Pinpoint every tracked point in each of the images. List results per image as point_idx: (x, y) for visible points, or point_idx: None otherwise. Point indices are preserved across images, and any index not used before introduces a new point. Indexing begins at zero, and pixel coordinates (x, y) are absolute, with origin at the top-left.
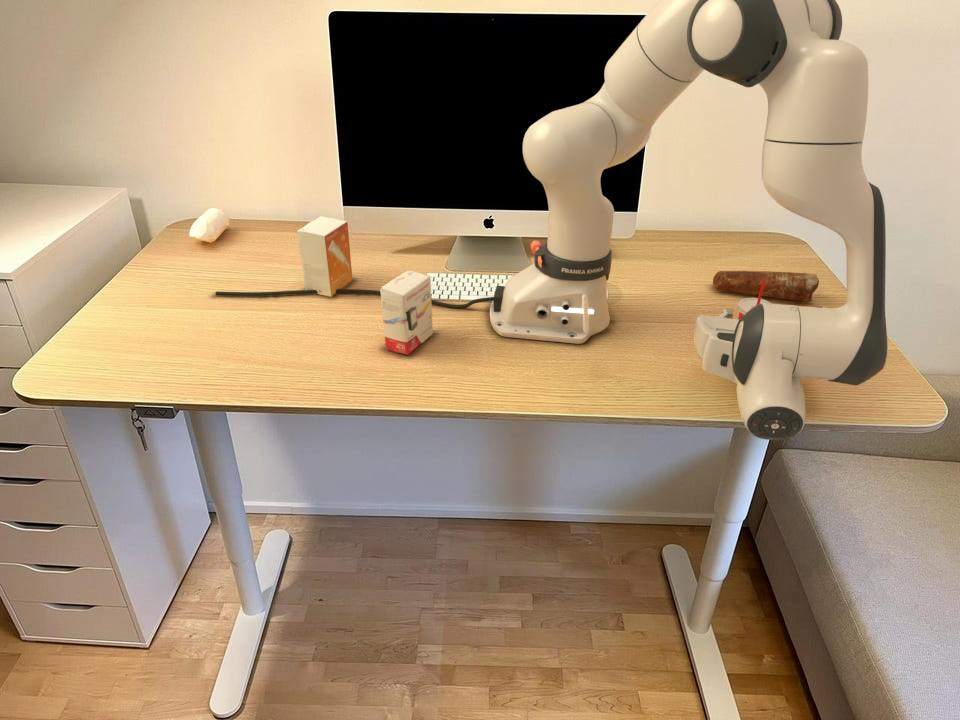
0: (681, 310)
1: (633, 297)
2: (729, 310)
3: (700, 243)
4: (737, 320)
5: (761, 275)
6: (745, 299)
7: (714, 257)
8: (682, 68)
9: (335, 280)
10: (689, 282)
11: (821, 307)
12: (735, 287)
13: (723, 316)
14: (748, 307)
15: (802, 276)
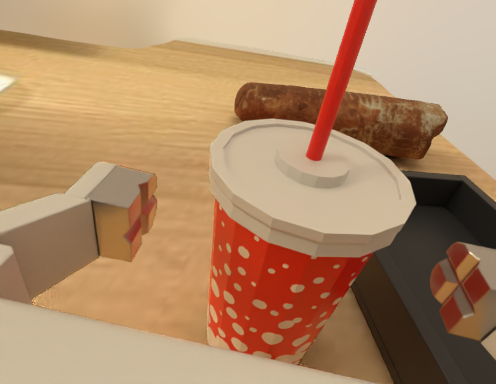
0: (132, 155)
1: (39, 115)
2: (127, 175)
3: (245, 62)
4: (8, 347)
5: None
6: (259, 123)
7: (259, 78)
8: None
9: None
10: (195, 103)
11: (464, 177)
12: (275, 117)
13: (1, 231)
14: (261, 165)
15: (413, 105)
